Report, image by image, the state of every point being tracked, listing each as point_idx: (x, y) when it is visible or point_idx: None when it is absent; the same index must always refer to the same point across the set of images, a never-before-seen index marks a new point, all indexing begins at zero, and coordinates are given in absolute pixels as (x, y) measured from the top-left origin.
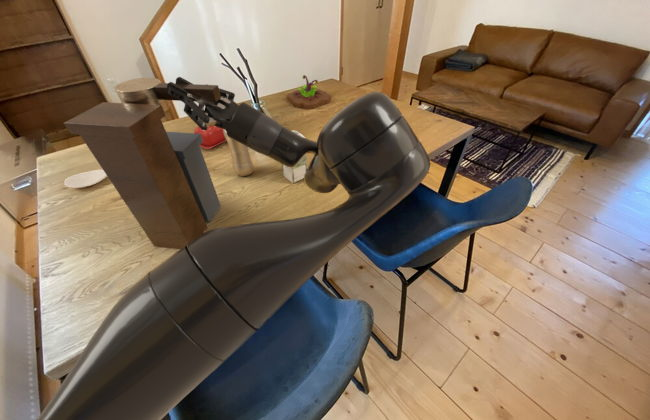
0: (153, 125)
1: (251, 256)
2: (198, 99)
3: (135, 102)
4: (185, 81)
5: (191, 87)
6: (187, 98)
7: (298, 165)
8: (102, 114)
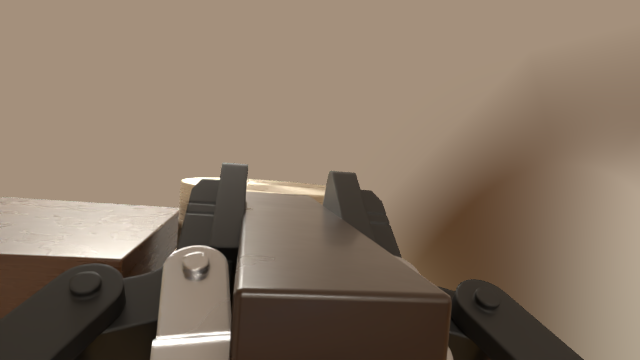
0: None
1: None
2: (176, 331)
3: (178, 228)
4: (342, 198)
5: (272, 223)
6: (112, 269)
7: None
8: (48, 211)
